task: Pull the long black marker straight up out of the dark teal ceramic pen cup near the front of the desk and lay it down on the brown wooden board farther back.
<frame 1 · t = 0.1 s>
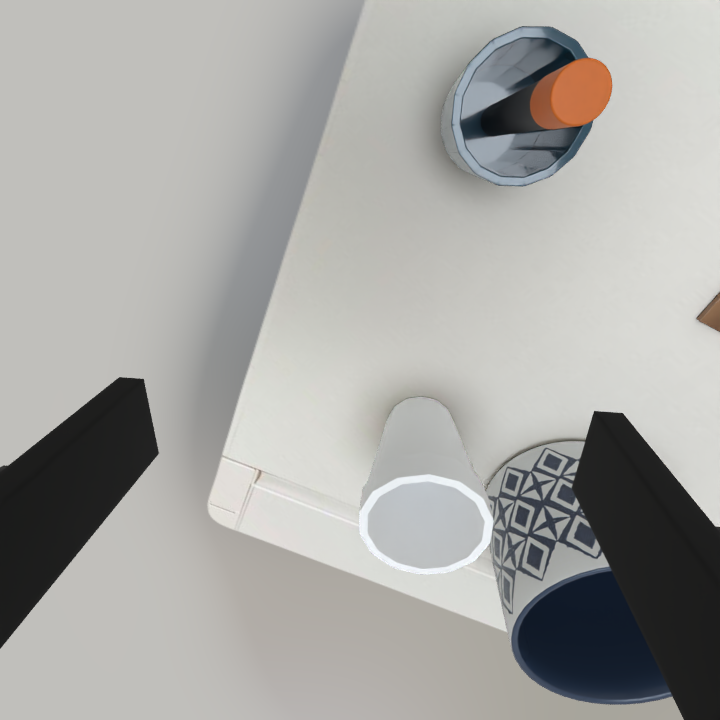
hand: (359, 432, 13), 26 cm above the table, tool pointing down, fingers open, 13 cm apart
marker: (495, 120, 31), point 1 cm above the table, touching pen cup
pen cup: (493, 120, 32), on the table
planter: (560, 500, 46), on the table
foam cup: (419, 423, 43), on the table
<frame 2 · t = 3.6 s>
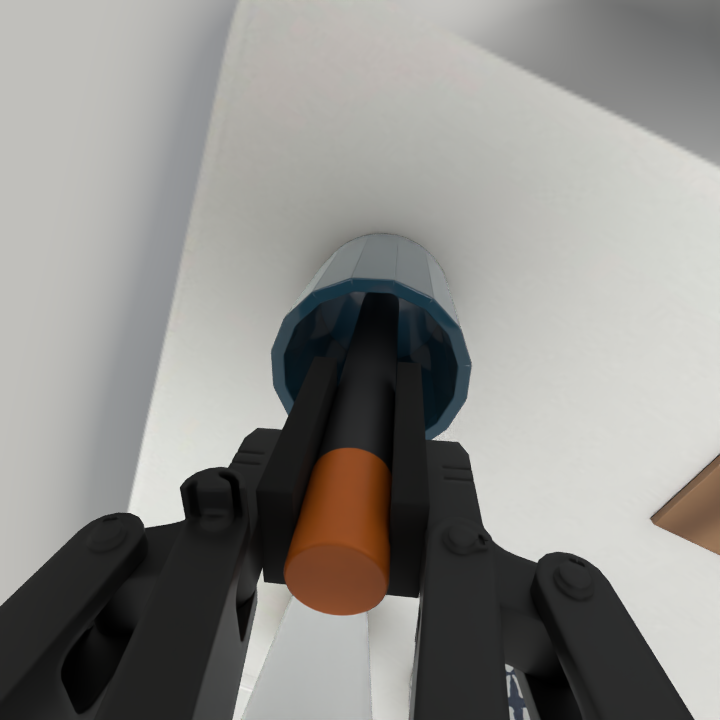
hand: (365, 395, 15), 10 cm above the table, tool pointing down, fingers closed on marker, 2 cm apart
marker: (380, 306, 24), point 1 cm above the table, touching gripper, pen cup
pen cup: (381, 301, 25), on the table
planter: (500, 685, 39), on the table
foam cup: (329, 605, 36), on the table
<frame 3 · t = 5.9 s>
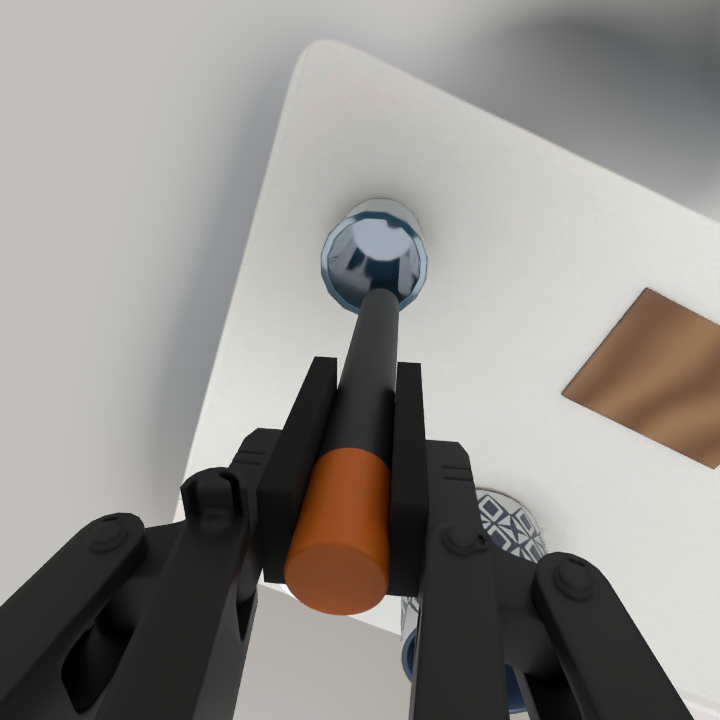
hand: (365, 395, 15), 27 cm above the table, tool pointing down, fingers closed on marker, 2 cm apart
marker: (380, 306, 24), point 17 cm above the table, touching gripper
pen cup: (380, 242, 39), on the table
brown wooden board: (681, 384, 42), on the table
planter: (469, 537, 53), on the table
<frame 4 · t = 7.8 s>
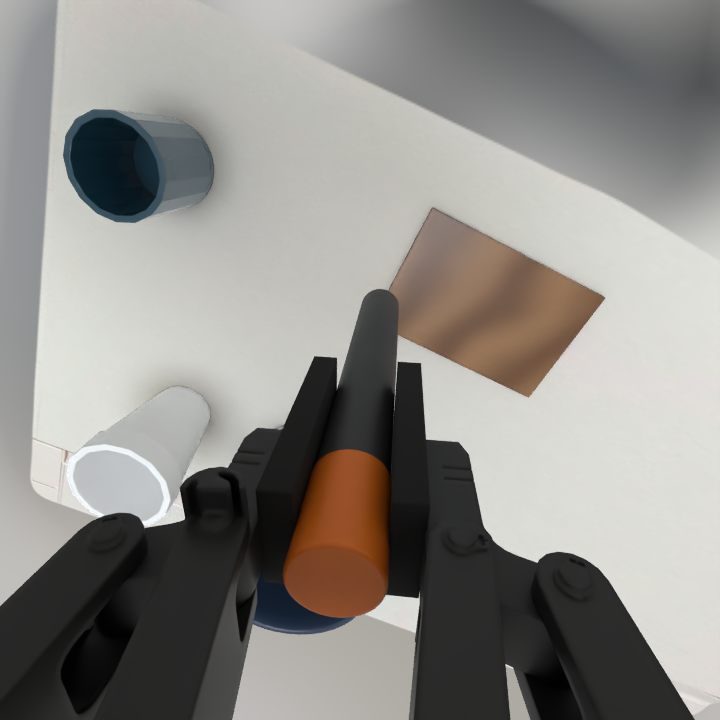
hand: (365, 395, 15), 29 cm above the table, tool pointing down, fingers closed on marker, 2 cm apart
marker: (380, 306, 24), point 19 cm above the table, touching gripper
pen cup: (173, 164, 40), on the table
brown wooden board: (483, 309, 43), on the table
planter: (314, 474, 54), on the table
foam cup: (184, 409, 52), on the table
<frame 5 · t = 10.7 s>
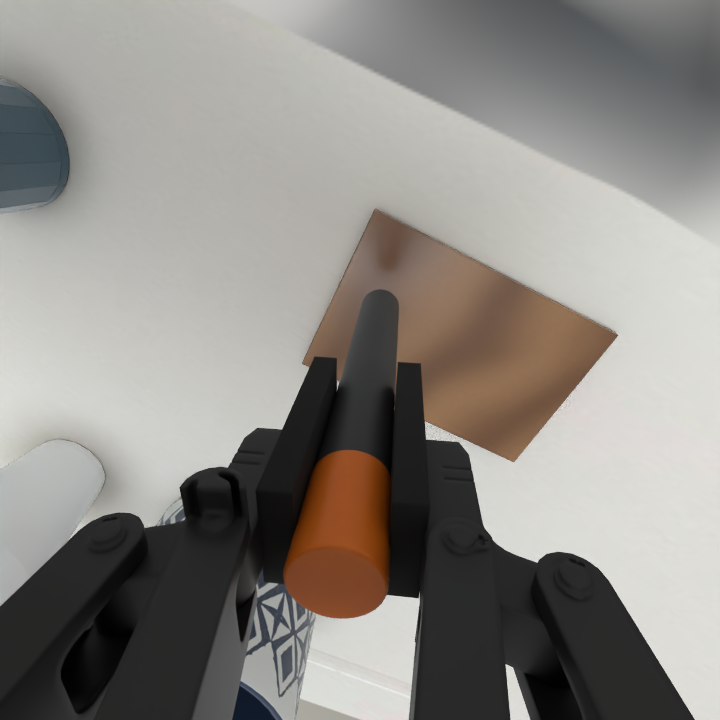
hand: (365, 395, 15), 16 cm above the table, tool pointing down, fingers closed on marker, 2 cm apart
marker: (380, 307, 24), point 6 cm above the table, touching gripper
pen cup: (12, 146, 28), on the table
brown wooden board: (451, 347, 32), on the table
planter: (243, 547, 42), on the table
foam cup: (72, 467, 40), on the table
when the fingers open (10 cm above the table, at t = 12.3 s): marker stays where it is, resting on brown wooden board.
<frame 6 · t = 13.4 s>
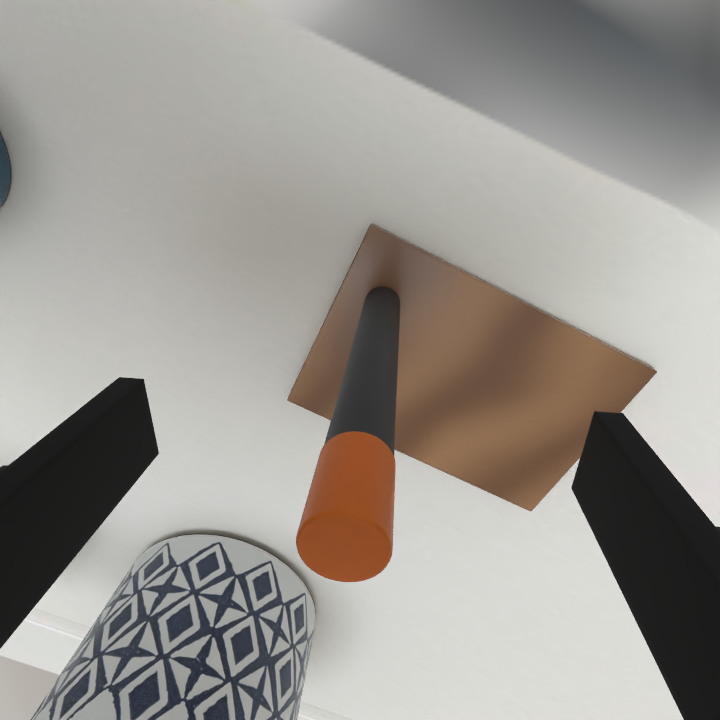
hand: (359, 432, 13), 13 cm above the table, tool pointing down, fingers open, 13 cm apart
marker: (382, 303, 25), resting on brown wooden board
brown wooden board: (460, 383, 27), on the table
planter: (225, 596, 38), on the table
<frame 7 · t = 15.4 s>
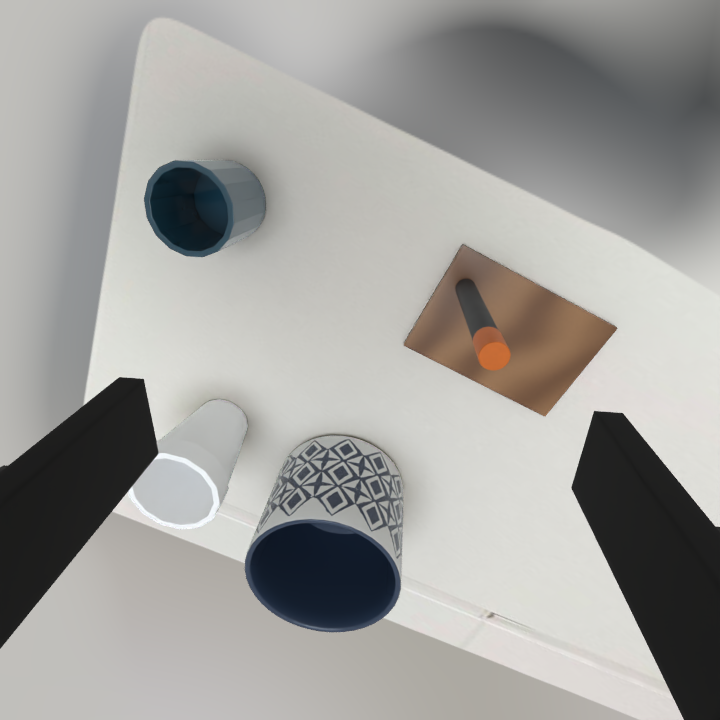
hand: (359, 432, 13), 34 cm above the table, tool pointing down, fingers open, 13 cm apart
marker: (465, 288, 45), resting on brown wooden board
pen cup: (229, 200, 44), on the table
brown wooden board: (506, 335, 47), on the table
planter: (341, 483, 58), on the table
foam cup: (223, 420, 56), on the table
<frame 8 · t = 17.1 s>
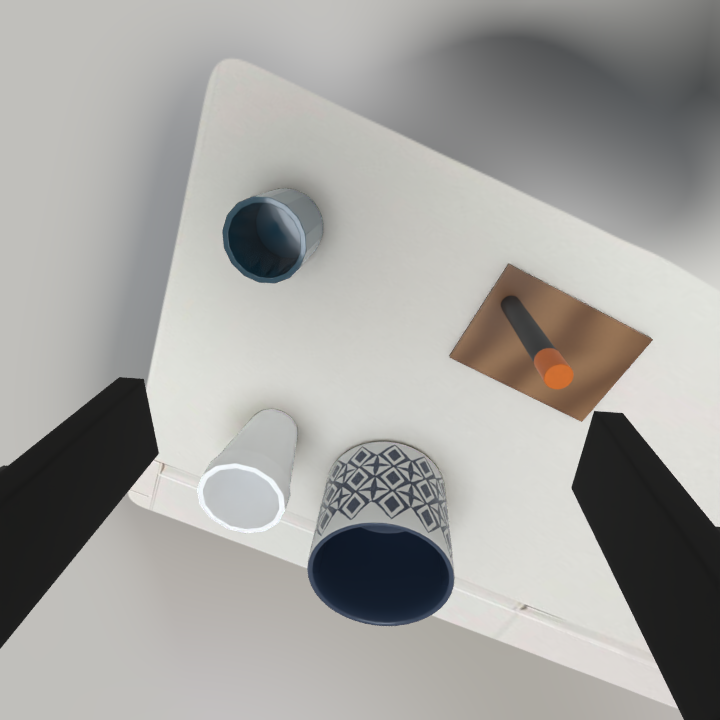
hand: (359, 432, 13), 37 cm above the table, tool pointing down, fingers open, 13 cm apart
marker: (510, 304, 48), resting on brown wooden board
pen cup: (288, 225, 47), on the table
brown wooden board: (546, 347, 50), on the table
planter: (385, 486, 61), on the table
foam cup: (274, 428, 59), on the table
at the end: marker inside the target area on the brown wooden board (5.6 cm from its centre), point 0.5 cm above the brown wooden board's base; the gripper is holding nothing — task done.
